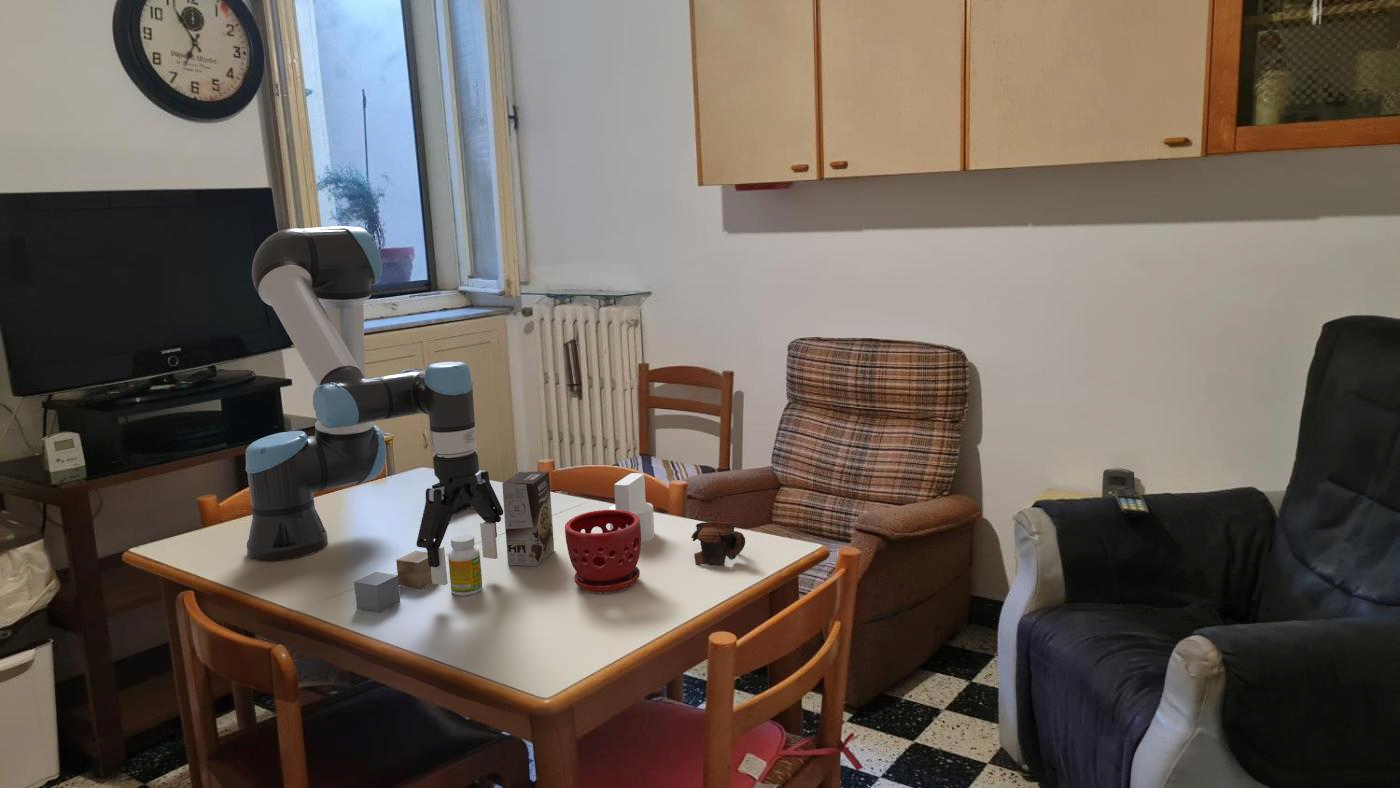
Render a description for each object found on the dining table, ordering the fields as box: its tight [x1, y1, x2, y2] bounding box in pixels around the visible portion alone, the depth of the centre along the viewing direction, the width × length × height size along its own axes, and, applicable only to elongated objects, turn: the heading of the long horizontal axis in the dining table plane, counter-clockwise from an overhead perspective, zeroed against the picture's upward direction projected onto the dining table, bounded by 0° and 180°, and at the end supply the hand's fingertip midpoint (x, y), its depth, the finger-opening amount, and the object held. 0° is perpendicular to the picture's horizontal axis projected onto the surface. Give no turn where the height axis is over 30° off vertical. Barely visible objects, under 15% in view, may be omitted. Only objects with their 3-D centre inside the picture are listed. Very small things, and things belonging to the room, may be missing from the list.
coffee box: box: [502, 471, 555, 567], centre depth 184 cm, size 9×6×16 cm
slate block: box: [353, 571, 401, 614], centre depth 164 cm, size 5×5×5 cm
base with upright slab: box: [608, 472, 655, 543], centre depth 195 cm, size 9×9×12 cm
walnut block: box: [395, 550, 433, 590], centre depth 174 cm, size 5×5×5 cm
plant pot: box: [564, 509, 642, 594], centre depth 169 cm, size 13×13×12 cm
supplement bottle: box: [447, 534, 483, 597], centre depth 169 cm, size 5×5×10 cm
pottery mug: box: [691, 521, 746, 566], centre depth 180 cm, size 12×10×8 cm
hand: (466, 570), depth 169 cm, fingers open, 13 cm apart
